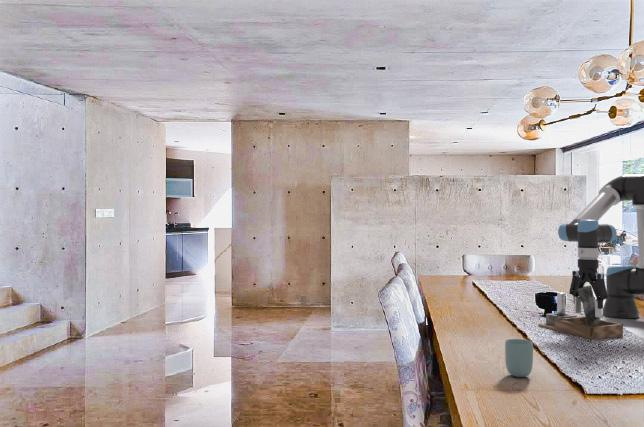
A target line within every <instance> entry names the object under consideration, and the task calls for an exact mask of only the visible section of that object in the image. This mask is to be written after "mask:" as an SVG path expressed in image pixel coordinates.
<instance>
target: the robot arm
mask: <svg viewBox="0 0 644 427" xmlns="http://www.w3.org/2000/svg"><path fill="white" fill-rule="evenodd" d="M625 201H629V202H630V201H631V202H632V206H633V207H634V208H635V209H636V226H637V227H636V228H637V229H636V230H637V247H638V248H637V249H638V262H637V264H636V265H634V264H629V265H613V266H609V267H607V268H606V275H605V274H604V273H599V272H598V269H599V244H602V243H603V244H608V243H611V242H614V240H616V238H617V235H618V234H617V232H618V231H617V229H616V228H615V226H614V225H612V224H608V223H602V224H601V223H600V224H599V221H600V220H601V218H602V217H603V216H604V215H605V214H606V213H607V212H608V211H609V210H610V209H611V208H612V207H613V206H616V205H618V204H619V203H620V202H625ZM557 233H558V234H557V235H558V237H559V239H560V240H561V241H563V242H568V243H571V242H577V258H578V259H577V269H578V270H573V271H572V272H571V273H572V277H571V283H570V288H569V292H568V293H569V294H570V295H571V296H572V297H573V305H574V314H581V313H582V302H581V299H580V297H579V295H578V292H577V289H578V288H582V287H584V286H585V284H586V283H588V284H589V285H591V287H592V291H593V294H594V297H595V317H600V318H602V317H603V316H606V317H610V318H618V319H636V318H639V317H640V311H639V308H638V306H637V305H638V304H637V302H636V300H635V298H636V295H638V296H644V173H637V174H635V173H634V174H624V175H623V174H622V175H620V176H618V177H615V178H613V179H612V180H610V181H608V182H607V183H606V184H605V185H603V186H602V187H601V188H600V189H599V191H598V195H597V196H596V197H594V199H592V201H591V202H589V204H588V205H586V207H585V208H584V209H582V210H581V212H580V213H579V214H577V215H576V216H575V217H574V219H572V221H571V222H569V223H567V222H566V223H562V224H560V225H559V227H558V230H557ZM605 277H606V283H605Z"/></svg>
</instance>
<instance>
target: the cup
mask: <svg viewBox="0 0 644 427" xmlns="http://www.w3.org/2000/svg"><path fill="white" fill-rule="evenodd" d="M504 361H505V368H506V370H507V373H508V374H509V375H511V376H512V377H516V378H525V377H528V376H530V374H531V373H532V371H533V365H534V364H533V363H534V344H533V341H531V340H528V339H522V338H509V339H505V342H504Z"/></svg>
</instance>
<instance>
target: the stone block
mask: <svg viewBox="0 0 644 427" xmlns="http://www.w3.org/2000/svg"><path fill="white" fill-rule="evenodd" d="M577 292H578V295H579V296H578V297H580V299H581V305H582V307H583V308H582V309H583V313H584V317H585V318H586V320H587V324H589V325H593V324H597V323H600V320H601V317H595V300H596V296H595V294H594V291H593V289H592V286H591V285H590V284H589V285H584V286H583V287H582V288H578V289H577Z"/></svg>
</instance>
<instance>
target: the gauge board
mask: <svg viewBox="0 0 644 427" xmlns="http://www.w3.org/2000/svg"><path fill="white" fill-rule="evenodd" d="M537 325H538V327H539V326H541V327H540V328H543V327H545V328H544V329H547V328H548V329H549V330H551V329H552V331H555V330H556V332H560V333H565V334H568V335H572V336H577V337H581V338H585V339H590V340H599V339H606V338H608V339H609V338H617V337H623V336H624V327H623V326H624V325H623V324H622V323H618V322H613V321H607V320H604V319H600V323H597V324H593V325H589V324H587V320H586V318H585V316H578V317H577V315H575V314H570V313H566V312H565V316H558V315H557V312H554V313H545V323H538V324H537ZM548 329H547V330H548Z"/></svg>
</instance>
